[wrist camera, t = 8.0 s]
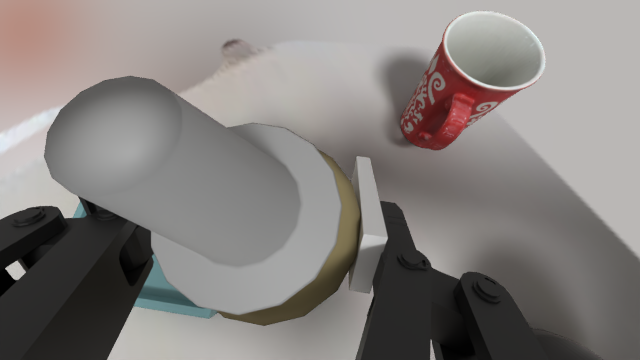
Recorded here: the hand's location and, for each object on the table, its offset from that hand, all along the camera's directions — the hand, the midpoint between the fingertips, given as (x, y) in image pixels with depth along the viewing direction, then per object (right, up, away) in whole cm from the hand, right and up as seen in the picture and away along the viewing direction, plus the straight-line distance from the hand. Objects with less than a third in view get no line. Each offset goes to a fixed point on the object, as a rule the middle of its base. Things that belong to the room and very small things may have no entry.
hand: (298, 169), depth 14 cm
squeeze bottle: (-1, -5, +6) cm, 8 cm away
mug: (+15, +6, +19) cm, 25 cm away
